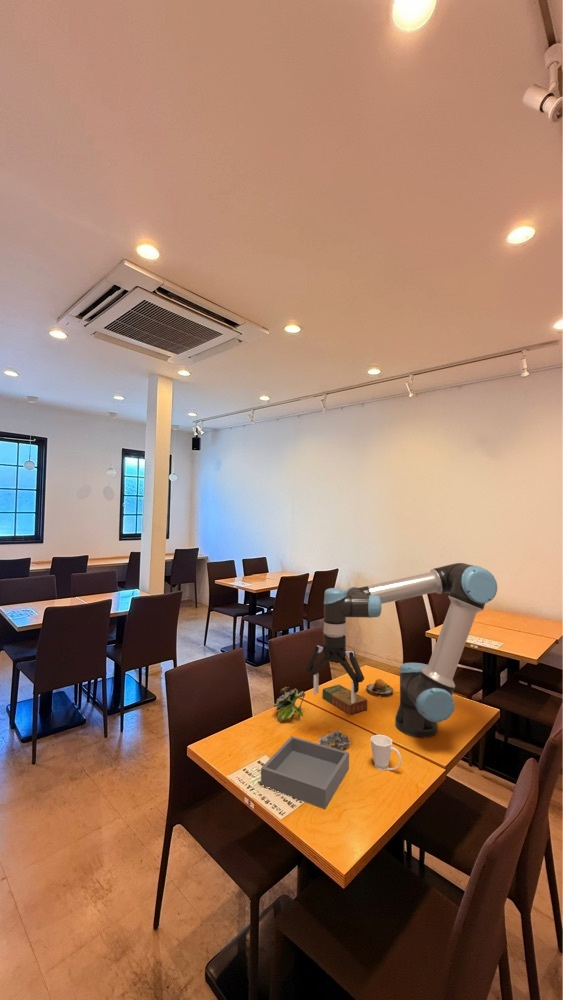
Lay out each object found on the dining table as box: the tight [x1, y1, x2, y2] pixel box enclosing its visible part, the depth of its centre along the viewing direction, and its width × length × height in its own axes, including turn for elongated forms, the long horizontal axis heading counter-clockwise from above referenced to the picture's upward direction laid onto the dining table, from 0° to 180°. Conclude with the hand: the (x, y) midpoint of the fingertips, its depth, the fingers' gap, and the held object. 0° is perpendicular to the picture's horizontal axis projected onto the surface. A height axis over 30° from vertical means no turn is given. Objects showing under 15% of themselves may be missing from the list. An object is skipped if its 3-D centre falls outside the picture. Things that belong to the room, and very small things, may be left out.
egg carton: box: [317, 729, 352, 751], centre depth 139 cm, size 10×7×4 cm
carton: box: [322, 683, 368, 717], centre depth 172 cm, size 10×18×5 cm, turn 31°
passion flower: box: [273, 686, 306, 722], centre depth 161 cm, size 13×12×14 cm
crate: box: [260, 735, 350, 810], centre depth 123 cm, size 20×20×5 cm
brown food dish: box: [365, 678, 394, 698], centre depth 185 cm, size 12×12×8 cm
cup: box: [370, 734, 402, 772], centre depth 128 cm, size 7×10×8 cm
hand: (334, 697), depth 140 cm, fingers open, 13 cm apart
